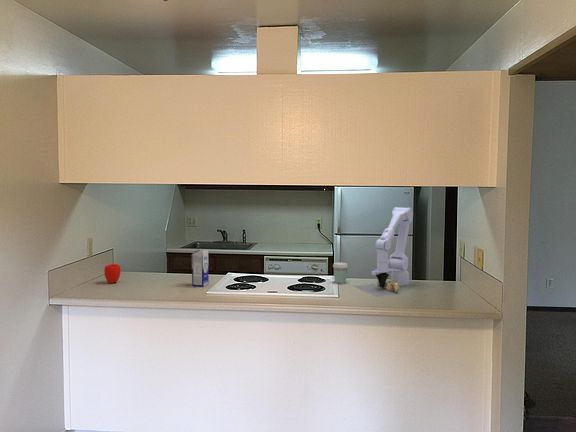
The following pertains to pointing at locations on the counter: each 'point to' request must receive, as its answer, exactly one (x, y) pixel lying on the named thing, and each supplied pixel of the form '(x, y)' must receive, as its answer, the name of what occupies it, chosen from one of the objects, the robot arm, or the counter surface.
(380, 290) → the board
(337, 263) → the coffee cup
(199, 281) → the milk carton
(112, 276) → the apple
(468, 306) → the counter surface
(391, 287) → the link
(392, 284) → the keeper
